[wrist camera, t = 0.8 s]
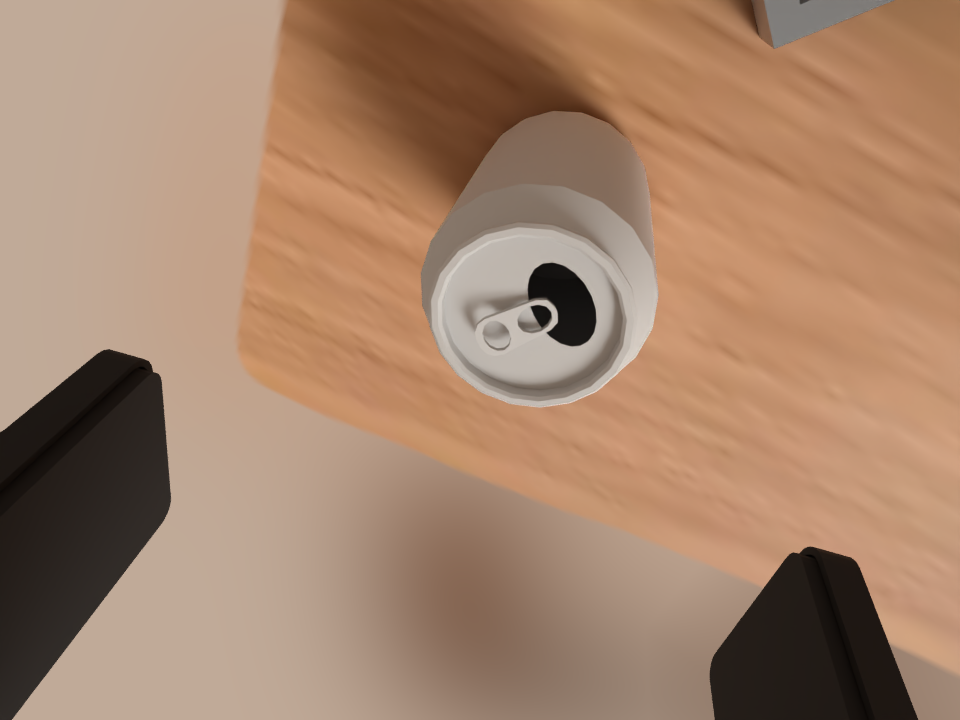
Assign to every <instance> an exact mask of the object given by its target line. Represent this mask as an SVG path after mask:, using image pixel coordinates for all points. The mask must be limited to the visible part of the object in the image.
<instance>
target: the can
mask: <svg viewBox="0 0 960 720" xmlns="http://www.w3.org/2000/svg"><path fill="white" fill-rule="evenodd" d="M421 285H422V306H423V309H424V311H425V314H426V316H427V319H428V322H429V324H430V328H431V331H432V333H433V336H434V339H435V341H436V344H437V346H438V349H439V352H440V353H441V355H442V356H443V357H444V359H445V360H446V361H447V362H448V364H449V365H450V366H451V367H452V369H453V370H454V371H455V372H456V374H457V375H458V376H459V377H461V378H462V379H463V380H465V381H466V382H468V383H469V384H470V385H472V386H473V387H474V388H476V389H477V390H479V391H480V392H481V393H483V394H486V395H489V396H491V397H494V398H496V399H499V400H502V401H504V402H507V403H509V404H516V405H524V406H533V407H547V406H554V405H561V404H568V403H572V402H574V401H576V400H579V399H581V398H583V397H585V396H588V395H590V394H592V393H595V392H597V391H598V390H599V389H600V388H602V387H603V386H604V385H605V384H606V383H607V382H608V381H610V380H611V379H612V378H613V377H614V376H615V375H616V374H618V373H619V371H620V370H622V369H623V368H624V367H625V366H626V365H627V364H629V363H630V362H631V361H632V360H633V359H634V358H635V357H636V356H637V354H638V353H639V351H640V349H641V347H642V346H643V344H644V342H645V340H646V339H647V337H648V335H649V334H650V332H651V330H652V328H653V323H654V317H655V312H656V306H657V300H658V284H657V272H656V261H655V249H654V238H653V227H652V215H651V204H650V193H649V188H648V182H647V177H646V171H645V166H644V165H643V163H642V161H641V159H640V158H639V156H638V154H637V152H636V151H635V149H634V147H633V145H632V143H631V142H630V141H629V140H628V139H627V138H625V137H624V136H623V135H622V134H621V133H620V132H618V131H617V130H616V129H615V128H614V127H613V126H612V125H610V124H609V123H607V122H605V121H602V120H600V119H597V118H595V117H592V116H590V115H587V114H585V113H582V112H564V111H551V112H547V113H544V114H540V115H536V116H533V117H529V118H526V119H524V120H522V121H521V122H519V123H518V124H516V125H515V126H514V127H512V128H511V129H509V130H508V131H506V132H505V133H503V134H502V135H501V136H500V137H499V139H498V140H497V141H496V143H495V144H494V145H493V147H492V148H491V149H490V151H489V152H488V153H487V154H486V156H485V157H484V159H483V160H482V162H481V164H480V165H479V167H478V168H477V170H476V171H475V173H474V175H473V176H472V178H471V179H470V181H469V182H468V184H467V185H466V187H465V189H464V190H463V192H462V193H461V195H460V196H459V198H458V200H457V201H456V203H455V204H454V206H453V207H452V209H451V211H450V212H449V214H448V215H447V217H446V218H445V220H444V222H443V223H442V225H441V226H440V228H439V229H438V231H437V233H436V234H435V236H434V237H433V239H432V240H431V243H430V246H429V249H428V252H427V255H426V259H425V262H424V265H423V268H422V271H421Z"/></svg>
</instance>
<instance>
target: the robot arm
mask: <svg viewBox="0 0 960 720" xmlns="http://www.w3.org/2000/svg"><path fill="white" fill-rule="evenodd" d="M170 502H171V493H170V481H169V469H168V456H167V445H166V431H165V418H164V405H163V394H162V382H161V377H160V375H159V374H157V373H154V372H153V370H152V366H151V364H150V362H149V361H147V360H145V359H142V358H138V357H135V356H131V355H127V354H124V353H120V352H117V351H113V350H110V349H108V350H103V351H101V352H100V353H98V354H97V355H95V356H94V357H93V358H92V359H90V360H89V361H88V362H87V363H86V364H85V365H83V366H82V367H81V368H80V369H78V370H77V371H76V372H75V373H73V374H72V375H71V376H70V377H68V378H67V379H66V380H65V381H64V382H62V383H61V384H60V385H59V386H57V387H56V388H55V389H54V390H53V391H51V392H50V393H49V394H48V395H46V396H45V397H44V398H43V399H42V400H40V401H39V402H38V403H37V404H35V405H34V406H33V407H32V408H30V409H29V410H28V411H27V412H26V413H25V414H23V415H22V416H21V417H19V418H18V419H17V420H16V421H15V422H13V423H12V424H11V425H10V426H8V427H7V428H6V429H5V430H3V431H2V432H0V720H12V719H13V717H14V716H15V715H16V713H17V712H18V711H19V710H20V708H21V707H22V706H23V704H24V703H25V702H26V700H27V699H28V698H29V696H30V695H31V694H32V692H33V691H34V690H35V688H36V687H37V686H38V685H39V683H40V682H41V681H42V679H43V678H44V677H45V676H46V674H47V673H48V672H49V670H50V669H51V668H52V666H53V665H54V664H55V662H56V661H57V660H58V658H59V657H60V656H61V655H62V653H63V652H64V651H65V649H66V648H67V647H68V645H69V644H70V643H71V642H72V640H73V639H74V638H75V636H76V635H77V634H78V632H79V631H80V630H81V628H82V627H83V626H84V624H85V623H86V622H87V621H88V619H89V618H90V616H91V615H92V614H93V613H94V611H95V610H96V609H97V607H98V606H99V605H100V604H101V602H102V601H103V600H104V598H105V597H106V596H107V594H108V593H109V592H110V591H111V589H112V588H113V586H114V585H115V584H116V583H117V581H118V580H119V579H120V577H121V576H122V575H123V574H124V572H125V571H126V570H127V568H128V567H129V566H130V564H131V563H132V562H133V560H134V559H135V558H136V557H137V555H138V554H139V552H140V551H141V550H142V549H143V547H144V546H145V545H146V543H147V542H148V541H149V539H150V538H151V537H152V535H153V534H154V533H155V532H156V530H157V529H158V528H159V526H160V525H161V524H162V522H163V521H164V519H165V517H166V515H167V513H168V510H169V507H170ZM710 685H711V693H712V701H713V708H714V716H715V720H918V718H917V715H916V713H915V710H914V708H913V705H912V702H911V700H910V697H909V695H908V692H907V689H906V687H905V684H904V682H903V679H902V677H901V674H900V671H899V669H898V666H897V664H896V661H895V658H894V656H893V653H892V650H891V648H890V645H889V643H888V640H887V638H886V635H885V632H884V630H883V627H882V625H881V622H880V619H879V617H878V614H877V612H876V609H875V606H874V604H873V601H872V599H871V596H870V593H869V591H868V588H867V586H866V583H865V580H864V578H863V575H862V573H861V570H860V568H859V566H858V564H857V562H856V561H855V560H853V559H852V558H850V557H847V556H843V555H840V554H836V553H833V552H829V551H825V550H822V549H818V548H815V547H807V548H805V549H803V550H802V551H801V552H800V553H799V554H798V553H791V554H790V555H789V556H788V557H787V558H786V559H785V560H784V562H783V563H782V564H781V566H780V567H779V568H778V570H777V571H776V572H775V574H774V575H773V576H772V578H771V579H770V580H769V582H768V583H767V584H766V586H765V587H764V589H763V590H762V591H761V593H760V594H759V595H758V597H757V598H756V600H755V601H754V602H753V603H752V605H751V606H750V607H749V609H748V610H747V612H746V613H745V614H744V616H743V617H742V618H741V619H740V621H739V622H738V623H737V625H736V626H735V628H734V629H733V630H732V632H731V633H730V634H729V636H728V637H727V639H726V640H725V641H724V642H723V644H722V645H721V647H720V648H719V649H718V650H717V652H716V653H715V655H714V657H713V659H712V662H711V668H710Z"/></svg>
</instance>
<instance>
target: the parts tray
mask: <svg viewBox="0 0 960 720" xmlns="http://www.w3.org/2000/svg"><path fill="white" fill-rule="evenodd" d="M751 1H752V6H753V10H754V15H755V19H756V24H757V28H758V33H759V37H760V38H761V39H762V40H764V41H765V42H766V43H767V44H769V45H770V46H771V47H773V48H774V49H775V48H778V47H780V46H783V45H785V44H788V43H790V42H793V41H795V40H797V39H800V38H802V37H805V36H807V35H810V34H812V33H815V32H817V31H820V30H822V29H825V28H827V27H829V26H832V25H834V24H837V23H839V22H842V21H844V20H847V19H849V18H852V17H854V16H857V15H859V14H861V13H864V12H866V11H869V10H871V9H874V8H876V7H879V6H881V5H884V4H886V3H889V2H891V1H893V0H751Z"/></svg>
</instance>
